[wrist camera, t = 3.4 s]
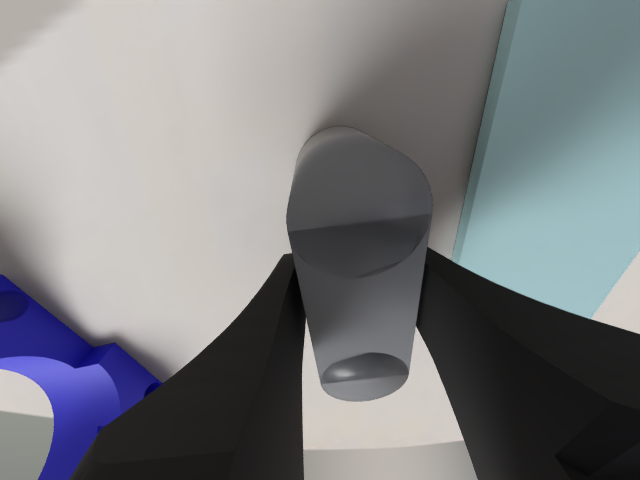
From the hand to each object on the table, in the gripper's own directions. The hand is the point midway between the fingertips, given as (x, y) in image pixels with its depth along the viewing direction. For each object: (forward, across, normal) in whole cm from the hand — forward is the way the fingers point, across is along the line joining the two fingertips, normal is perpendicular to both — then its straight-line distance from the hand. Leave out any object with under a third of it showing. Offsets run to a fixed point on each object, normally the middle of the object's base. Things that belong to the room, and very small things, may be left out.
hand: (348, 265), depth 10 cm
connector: (+2, 0, 0) cm, 2 cm away
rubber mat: (+2, -10, 0) cm, 10 cm away
